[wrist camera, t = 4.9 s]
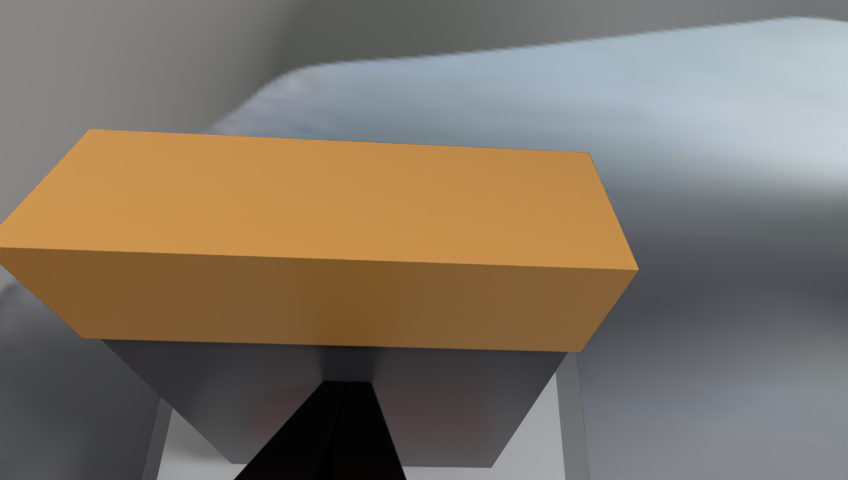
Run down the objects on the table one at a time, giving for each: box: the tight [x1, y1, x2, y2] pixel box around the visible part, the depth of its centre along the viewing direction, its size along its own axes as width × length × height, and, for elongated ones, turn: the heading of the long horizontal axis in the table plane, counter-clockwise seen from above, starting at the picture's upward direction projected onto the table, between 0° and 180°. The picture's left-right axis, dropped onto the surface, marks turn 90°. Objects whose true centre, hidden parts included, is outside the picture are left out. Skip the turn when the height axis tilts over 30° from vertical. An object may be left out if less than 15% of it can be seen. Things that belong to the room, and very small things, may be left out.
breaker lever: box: [0, 129, 639, 468], centre depth 9 cm, size 2×7×9 cm, turn 88°
